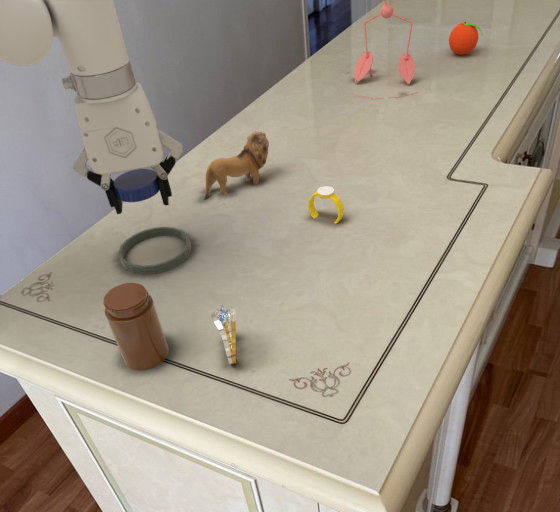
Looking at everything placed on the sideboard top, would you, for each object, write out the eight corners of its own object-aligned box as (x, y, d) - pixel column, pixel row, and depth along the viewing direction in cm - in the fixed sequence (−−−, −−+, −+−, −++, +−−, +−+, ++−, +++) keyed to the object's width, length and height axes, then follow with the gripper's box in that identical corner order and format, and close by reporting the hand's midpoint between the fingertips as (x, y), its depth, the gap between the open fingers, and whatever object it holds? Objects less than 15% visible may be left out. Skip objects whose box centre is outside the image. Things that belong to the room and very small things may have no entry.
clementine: (484, 50, 146) (488, 18, 141) (475, 60, 142) (479, 27, 137) (453, 48, 149) (456, 17, 144) (443, 58, 145) (446, 25, 140)
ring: (246, 374, 74) (236, 326, 68) (221, 378, 74) (209, 330, 68) (244, 338, 79) (235, 290, 73) (221, 341, 79) (209, 294, 73)
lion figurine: (263, 171, 113) (257, 124, 106) (279, 180, 109) (274, 133, 103) (197, 199, 108) (186, 151, 101) (211, 210, 104) (201, 161, 98)
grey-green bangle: (108, 266, 95) (103, 254, 93) (157, 231, 101) (154, 220, 99) (157, 286, 90) (154, 274, 88) (206, 249, 96) (203, 237, 94)
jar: (116, 365, 78) (89, 302, 70) (147, 338, 81) (124, 275, 74) (148, 380, 75) (124, 317, 68) (179, 352, 78) (159, 288, 71)
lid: (107, 196, 87) (103, 184, 86) (140, 176, 90) (136, 165, 89) (137, 206, 84) (133, 194, 82) (169, 185, 87) (166, 173, 86)
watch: (306, 223, 98) (303, 190, 94) (315, 215, 99) (312, 182, 95) (338, 231, 95) (336, 197, 91) (346, 222, 97) (345, 189, 92)
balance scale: (339, 72, 146) (334, -108, 121) (443, 78, 136) (460, -117, 111) (315, 96, 136) (304, -94, 112) (425, 104, 127) (439, -102, 102)
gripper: (34, 103, 73) (84, 228, 86) (171, 79, 74) (201, 207, 86) (42, 82, 78) (88, 203, 91) (170, 60, 79) (198, 183, 92)
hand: (142, 204), depth 89 cm, fingers closed on lid, 6 cm apart
